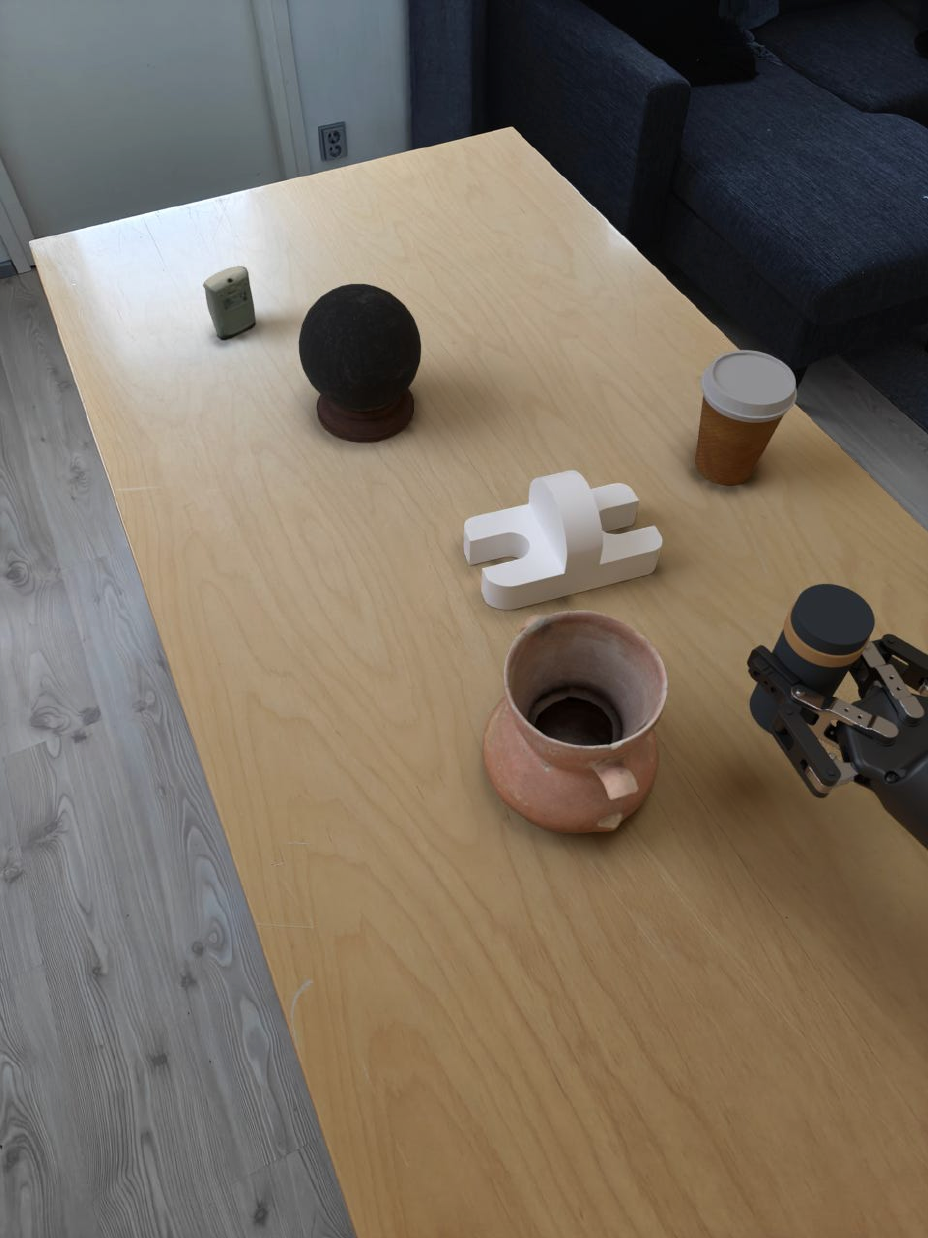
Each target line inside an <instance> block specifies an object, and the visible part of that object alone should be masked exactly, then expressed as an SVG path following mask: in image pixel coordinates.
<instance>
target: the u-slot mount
mask: <svg viewBox="0 0 928 1238" xmlns="http://www.w3.org/2000/svg"><path fill="white" fill-rule="evenodd" d="M639 501H640V500H639V498H638V497H637V494H635V491H634V490H633V489H632V488H631V487H630V486H629V485H628V484H625V483H623V482H614V483H610V484H606V485H601V486H597V487H593V488H591V487H590V485H589V483H588V481H586V479H585V478H584V476H583V475H582V474H581V473H580V472H578V471H577V470H575V469H571V470H569V469H568V470H564V471H560V472H556V473H552V474H548V475H543V476H539V477H535V478H533V480H532V481H531V482H530V485H529V491H528V502H527V503H525V504H521V505H517V506H513V507H509V508H504V509H500V510H496V511H491V512H488V513H483V514H479V515H475V516H471V517H469V518H467V519H466V521H465V522H464V524H463V554H464V557H465V559H466V561H467V563H468V566H473V565H478V564H480V563H481V564H482V563H485V562H489V561H494V560H497V559H501V558H506V557H507V558H510V557H511V558H515V559H514V560H509V561H506V562H501V563H498V564H493V565H490V566H486V567H482V568H481V588H480V589H481V590H480V593H481V595H482V597H483V600H484V601H485V602H484V603H486V604H487V605H488V606H490V607H492V608H494V609H497V610H501V611H511V610H512V611H513V610H518V609H521V608H525V607H529V606H533V605H537V604H541V603H544V602H548V601H552V600H556V599H559V598H563V597H567V596H571V595H575V594H578V593H579V594H580V593H583V592H586V591H591V590H594V589H597V588H602V587H606V586H609V585H615V584H618V583H621V582H625V581H629V580H633V579H637V578H641V577H644V576H648V575H650V574H652V573H653V572H654V571H655V570H656V568H657V564H658V561H659V557H660V553H661V550H662V545H663V537H662V535H661V533H660V532H659V530H658V529H657V527H656V525H650V526H647V527H642V528H637V529H634V530H630V531H627V532H622V533H609V532H610V531H615V530H619V529H623V528H626V527H630V526H634V523H635V520H636V516H637V510H638V507H639Z"/></svg>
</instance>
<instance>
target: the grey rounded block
mask: <svg viewBox="0 0 928 1238" xmlns="http://www.w3.org/2000/svg"><path fill="white" fill-rule="evenodd" d="M250 281H251V280H250V273H249V271H248V268H247V267H246V266H244V265H243V266H242V265H237V266H236V265H235V266H231V267H228V268H225V269H223V270H220V271H217V272H215V273H214V274H212V275H210V276H209V277H208V278H206V280H205V281H204V282H203V283H202V287H203V289H204V294H205V300H206V306H207V310H208V313H209V316H210V318H211V322H212V324H213V326H214V329H215V332H216V336H217V337H218V339H219V340H221V341H226V340H230V339H232V338H234V337H237V336H238V335H241V334H243V333H245V332H246V331H249V330H250V329H253V328H254V327H255V326H256V322H257V319H256V310H255V306H254V305H255V303H254V298H253V293H252V288H251V282H250Z"/></svg>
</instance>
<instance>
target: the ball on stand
mask: <svg viewBox="0 0 928 1238" xmlns="http://www.w3.org/2000/svg"><path fill="white" fill-rule="evenodd" d="M421 340H422V339H421V335H420V331H419V328H418V325H417V322H416V320H415V318H414V316H413V314H411V312H410V310H409V309H408V308H407V306H406V305H405V304H404V302H402V301H401V300H400V299H399V298H398V297H396V296H395V295H394V294H392V293H391V291H388V290H386V289H383V288H381V287H378V286H376V285H372V284H368V283H348V284H344V285H341V286H337V287H335V288H333V289H331V290H329V291H327V292H326V293H324V294H323V295H321V296H320V297H319V298H318V299H317V300H316V301H315V303H314V304H312V306H311V307H310V308H309V310H307V313H306V315H305V317H304V320H303V321H302V323H301V326H300V332H299V337H298V354H299V359H300V364H301V368H302V370H303V372H304V375H305V376H306V378H307V380H308V382H309V383H310V385H311V386H312V387H313V388H314V389H315V391H317V392H318V394H319V396H318V399H317V400H316V414H317V419H318V421H319V423H320V425H321V426H322V428H323V429H324V430H325V431H326V432H328V433H329V434H331V435H332V436H334V437H335V438H338V439H341V440H343V441H347V442H352V443H375V442H381V441H384V440H387V439H390V438H392V437H395V436H397V435H398V434H399V433H401V432H403V431H404V430H405V429H406V428H407V427H408V426H409V425H410V424H411V421H413V418H414V415H415V398H414V395H413V393H412V392H411V389H409V388H410V386H411V384H412V383H413V382H414V381H415V378H416V376H417V373H418V371H419V370H418V369H419V367H420V364H421V358H422V341H421Z"/></svg>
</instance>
